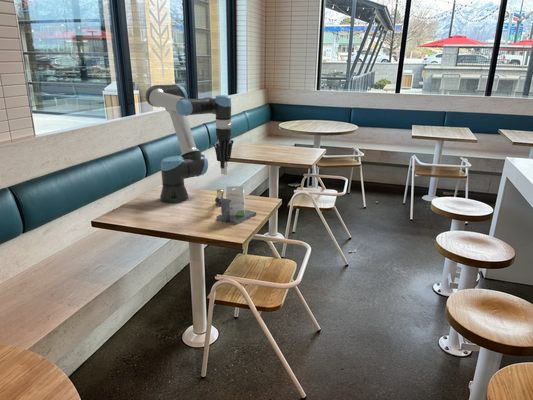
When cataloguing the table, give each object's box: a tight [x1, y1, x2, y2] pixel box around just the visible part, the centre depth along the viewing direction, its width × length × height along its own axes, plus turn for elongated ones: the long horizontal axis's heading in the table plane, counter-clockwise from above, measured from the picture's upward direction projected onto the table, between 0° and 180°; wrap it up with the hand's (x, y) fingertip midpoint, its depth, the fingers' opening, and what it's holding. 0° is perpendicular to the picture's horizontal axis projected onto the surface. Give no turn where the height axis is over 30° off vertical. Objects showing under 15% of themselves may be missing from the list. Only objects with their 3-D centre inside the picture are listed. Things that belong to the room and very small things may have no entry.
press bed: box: [216, 197, 257, 225], centre depth 195 cm, size 12×18×11 cm
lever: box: [214, 188, 225, 203], centre depth 207 cm, size 17×4×3 cm, turn 1°
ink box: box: [225, 185, 246, 216], centre depth 195 cm, size 9×5×15 cm, turn 84°
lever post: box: [214, 194, 224, 207], centre depth 214 cm, size 6×6×6 cm
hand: (224, 173), depth 207 cm, fingers closed
